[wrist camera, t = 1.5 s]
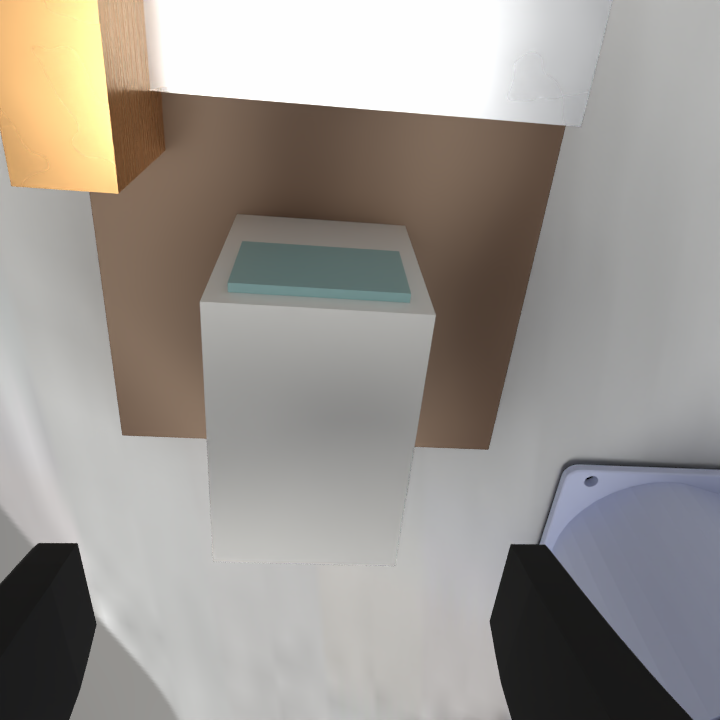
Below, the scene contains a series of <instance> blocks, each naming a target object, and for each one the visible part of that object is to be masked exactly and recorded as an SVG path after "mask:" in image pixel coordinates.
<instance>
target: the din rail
mask: <svg viewBox="0 0 720 720" xmlns="http://www.w3.org/2000/svg"><path fill="white" fill-rule="evenodd" d="M612 2H613V0H0V131H1V136H2V141H3V146H4V151H5V156H6V161H7V167H8V172H9V177H10V182H11V186H16V187H30V188H45V189H59V190H73V191H87V192H102V193H116V194H119V193H120V192H121V191H122V190H123V189H124V188H125V187H126V186H127V185H129V184H130V183H131V182H132V181H133V180H134V179H135V178H136V177H137V176H138V175H139V174H140V173H142V172H143V171H144V170H145V169H146V168H147V167H148V166H149V165H150V164H151V163H152V162H153V161H155V160H156V159H157V158H158V157H159V156H160V155H161V154H162V153H163V152H164V151H165V138H164V124H163V110H162V96H161V92H170V93H182V94H194V95H206V96H218V97H230V98H242V99H254V100H266V101H278V102H290V103H302V104H313V105H325V106H337V107H349V108H361V109H373V110H385V111H397V112H409V113H421V114H433V115H445V116H457V117H468V118H480V119H492V120H504V121H516V122H528V123H540V124H552V125H564V126H576V127H581V125H582V121H583V117H584V113H585V109H586V105H587V101H588V97H589V93H590V89H591V85H592V81H593V77H594V73H595V69H596V66H597V62H598V58H599V54H600V50H601V46H602V42H603V38H604V34H605V30H606V26H607V22H608V18H609V14H610V10H611V6H612Z"/></svg>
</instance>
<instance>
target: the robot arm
mask: <svg viewBox="0 0 720 720" xmlns="http://www.w3.org/2000/svg"><path fill="white" fill-rule="evenodd" d="M590 476H593V477H592V478H590V479H588V480H585V479H586V478H588V477H590ZM490 626H491V631H492V637H493V643H494V649H495V654H496V660H497V665H498V670H499V675H500V680H501V684H502V688H503V691H504V695H505V698H506V702H507V705H508V708H509V712H510V715H511V719H512V720H720V470H713V469H686V468H659V467H633V466H606V465H579V464H578V465H572V466H570V467H568V468H567V469H565V470H564V472H563V474H562V476H561V479H560V482H559V485H558V489H557V492H556V495H555V498H554V501H553V504H552V507H551V510H550V513H549V517H548V520H547V523H546V526H545V529H544V532H543V535H542V538H541V541H540V544H539V545H535V544H511V545H510V549H509V553H508V556H507V560H506V564H505V567H504V571H503V575H502V578H501V582H500V585H499V589H498V593H497V596H496V600H495V604H494V607H493V611H492V615H491V618H490ZM95 628H96V620H95V616H94V612H93V607H92V603H91V599H90V595H89V590H88V586H87V582H86V578H85V573H84V569H83V565H82V560H81V556H80V552H79V548H78V543H38V544H37V545H36V546H35V547H34V548H32V550H31V551H30V552H29V553H28V554H27V555H26V556H25V557H24V558H23V559H22V560H21V562H20V563H19V564H18V565H17V566H16V567H15V568H14V569H13V570H12V571H11V573H10V574H9V575H8V576H7V577H6V578H5V579H4V580H3V581H2V582H1V584H0V720H69V718H70V716H71V713H72V710H73V707H74V705H75V702H76V699H77V697H78V694H79V691H80V688H81V684H82V680H83V676H84V672H85V669H86V665H87V661H88V657H89V653H90V649H91V645H92V641H93V637H94V633H95Z"/></svg>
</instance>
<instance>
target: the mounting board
mask: <svg viewBox="0 0 720 720" xmlns="http://www.w3.org/2000/svg"><path fill="white" fill-rule="evenodd" d="M161 96H162V110H163V124H164V138H165V151H164V152H163V153H162V154H161V155H160V156H159V157H158V158H157V159H156V160H155V161H153V162H152V163H151V164H150V165H149V166H148V167H147V168H146V169H145V170H144V171H143V172H142V173H140V174H139V175H138V176H137V177H136V178H135V179H134V180H133V181H132V182H131V183H130V184H129V185H127V186H126V187H125V188H124V189H123V190H122V191H121V192H120V193H119V194H116V193H102V192H89V193H90V200H91V207H92V215H93V222H94V230H95V237H96V244H97V252H98V259H99V267H100V274H101V281H102V289H103V296H104V304H105V311H106V318H107V326H108V333H109V341H110V348H111V355H112V363H113V370H114V378H115V385H116V392H117V400H118V407H119V415H120V422H121V429H122V435H127V436H153V437H178V438H204V439H207V436H206V416H205V396H204V376H203V356H202V336H201V316H200V300H201V298H202V295H203V293H204V291H205V288H206V286H207V283H208V281H209V279H210V276H211V274H212V272H213V269H214V267H215V265H216V262H217V260H218V258H219V255H220V253H221V251H222V248H223V246H224V243H225V241H226V239H227V236H228V234H229V232H230V229H231V227H232V225H233V222H234V220H235V218H236V215H237V214H243V215H257V216H272V217H286V218H301V219H316V220H330V221H345V222H359V223H374V224H388V225H403V226H405V227H406V230H407V233H408V236H409V239H410V241H411V244H412V247H413V250H414V253H415V256H416V259H417V262H418V265H419V268H420V271H421V273H422V276H423V279H424V282H425V285H426V288H427V291H428V294H429V297H430V300H431V302H432V305H433V308H434V311H435V314H436V317H435V323H434V330H433V336H432V342H431V348H430V354H429V360H428V367H427V373H426V379H425V385H424V391H423V397H422V404H421V410H420V416H419V422H418V428H417V434H416V441H415V447H434V448H459V449H485V450H488V449H489V445H490V441H491V436H492V432H493V428H494V424H495V420H496V415H497V411H498V407H499V403H500V399H501V394H502V390H503V386H504V382H505V378H506V373H507V369H508V365H509V361H510V357H511V353H512V348H513V344H514V340H515V336H516V332H517V327H518V323H519V319H520V315H521V311H522V306H523V302H524V298H525V294H526V290H527V285H528V281H529V277H530V273H531V269H532V264H533V260H534V256H535V252H536V248H537V243H538V239H539V235H540V231H541V227H542V223H543V218H544V214H545V210H546V206H547V202H548V197H549V193H550V189H551V185H552V181H553V176H554V172H555V168H556V164H557V160H558V155H559V151H560V147H561V143H562V139H563V134H564V130H565V126H564V125H552V124H540V123H528V122H516V121H504V120H492V119H480V118H468V117H457V116H445V115H433V114H421V113H409V112H397V111H385V110H373V109H361V108H349V107H337V106H325V105H313V104H302V103H290V102H278V101H266V100H254V99H242V98H230V97H218V96H206V95H194V94H182V93H170V92H161Z"/></svg>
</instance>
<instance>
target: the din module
mask: <svg viewBox="0 0 720 720" xmlns="http://www.w3.org/2000/svg"><path fill="white" fill-rule="evenodd" d="M200 316H201V336H202V356H203V376H204V396H205V416H206V436H207V456H208V476H209V496H210V516H211V536H212V556H213V562H232V563H275V564H319V565H362V566H395V564H396V558H397V551H398V545H399V539H400V533H401V527H402V521H403V514H404V508H405V502H406V496H407V490H408V484H409V477H410V471H411V465H412V459H413V453H414V447H415V441H416V434H417V428H418V422H419V416H420V410H421V404H422V397H423V391H424V385H425V379H426V373H427V367H428V360H429V354H430V348H431V342H432V336H433V330H434V323H435V317H436V314H435V311H434V308H433V305H432V302H431V300H430V297H429V294H428V291H427V288H426V285H425V282H424V279H423V276H422V273H421V271H420V268H419V265H418V262H417V259H416V256H415V253H414V250H413V247H412V244H411V241H410V239H409V236H408V233H407V230H406V227H405V226H403V225H388V224H374V223H359V222H345V221H330V220H316V219H301V218H286V217H272V216H257V215H243V214H237V215H236V218H235V220H234V222H233V225H232V227H231V229H230V232H229V234H228V236H227V239H226V241H225V243H224V246H223V248H222V251H221V253H220V255H219V258H218V260H217V262H216V265H215V267H214V269H213V272H212V274H211V276H210V279H209V281H208V283H207V286H206V288H205V291H204V293H203V295H202V298H201V300H200Z"/></svg>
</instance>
